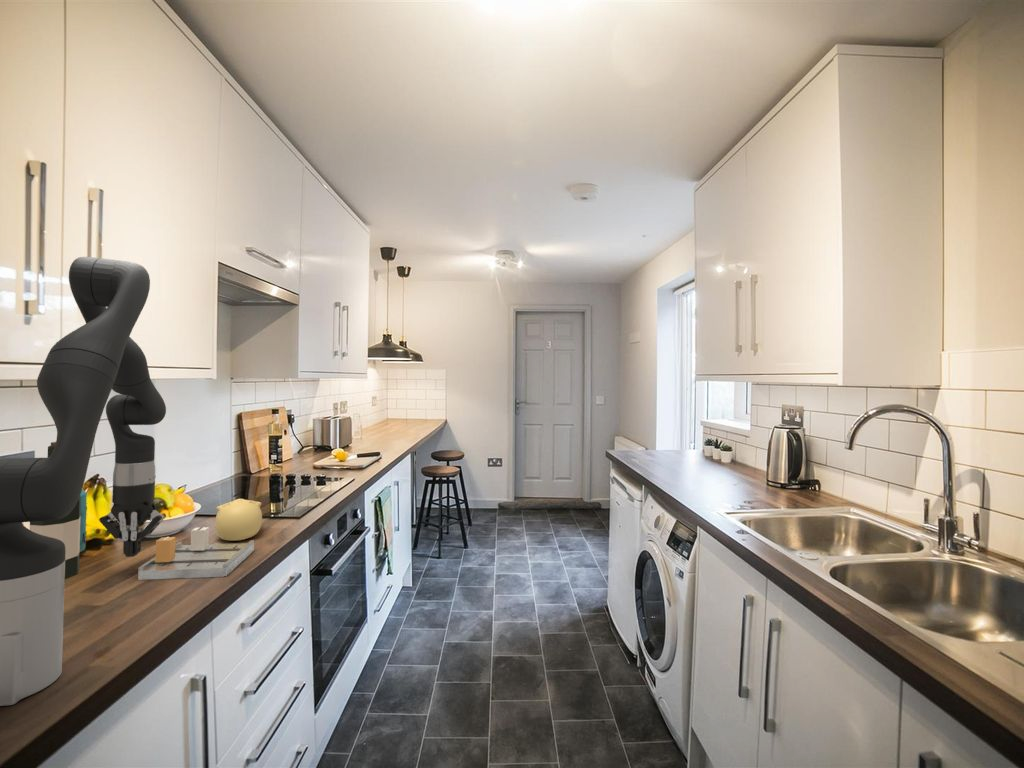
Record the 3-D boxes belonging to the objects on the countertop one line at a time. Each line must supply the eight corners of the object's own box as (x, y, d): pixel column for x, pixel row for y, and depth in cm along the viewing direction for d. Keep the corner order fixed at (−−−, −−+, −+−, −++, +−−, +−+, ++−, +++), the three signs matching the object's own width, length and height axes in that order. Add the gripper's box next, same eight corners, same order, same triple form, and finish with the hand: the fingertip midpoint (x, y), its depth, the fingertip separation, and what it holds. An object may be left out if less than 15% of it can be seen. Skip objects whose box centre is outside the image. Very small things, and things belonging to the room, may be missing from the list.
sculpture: (260, 528, 137) (261, 493, 137) (263, 540, 127) (264, 502, 127) (215, 534, 131) (216, 497, 131) (214, 547, 121) (215, 507, 121)
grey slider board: (226, 576, 104) (226, 564, 104) (138, 579, 101) (138, 567, 101) (253, 550, 119) (254, 540, 119) (178, 552, 116) (178, 542, 116)
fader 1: (169, 561, 105) (170, 539, 105) (155, 562, 104) (156, 539, 104) (175, 558, 107) (175, 536, 107) (161, 558, 106) (161, 536, 106)
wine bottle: (16, 585, 96) (20, 445, 96) (44, 569, 104) (48, 439, 104) (64, 582, 98) (69, 444, 98) (88, 566, 106) (92, 439, 106)
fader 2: (203, 550, 112) (204, 529, 112) (190, 550, 112) (191, 529, 112) (208, 546, 114) (208, 526, 114) (195, 547, 114) (195, 526, 114)
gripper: (89, 484, 99) (87, 563, 99) (156, 484, 102) (154, 561, 102) (113, 477, 107) (111, 550, 107) (175, 477, 109) (173, 548, 109)
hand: (132, 555), depth 104 cm, fingers closed
